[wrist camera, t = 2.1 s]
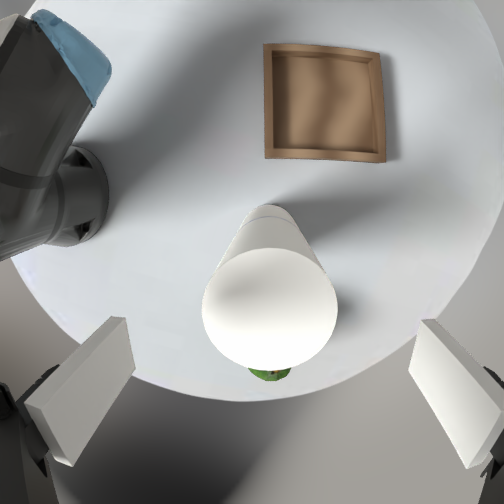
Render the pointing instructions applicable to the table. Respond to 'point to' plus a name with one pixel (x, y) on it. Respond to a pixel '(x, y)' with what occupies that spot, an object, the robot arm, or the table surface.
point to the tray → (323, 104)
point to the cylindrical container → (269, 295)
